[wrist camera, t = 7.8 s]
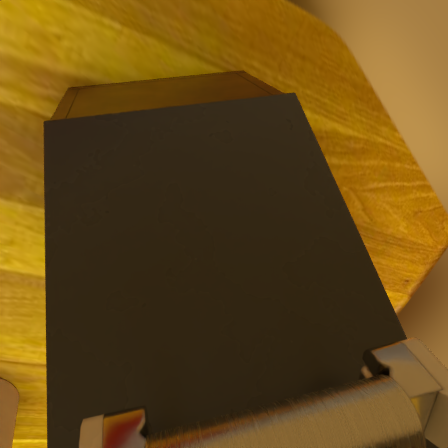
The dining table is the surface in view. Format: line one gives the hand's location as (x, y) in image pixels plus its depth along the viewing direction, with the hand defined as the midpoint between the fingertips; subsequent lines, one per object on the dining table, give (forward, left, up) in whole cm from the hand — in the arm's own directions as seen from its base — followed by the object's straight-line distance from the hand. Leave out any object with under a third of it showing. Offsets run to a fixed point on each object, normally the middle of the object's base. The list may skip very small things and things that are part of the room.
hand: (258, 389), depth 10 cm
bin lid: (0, +1, -6) cm, 6 cm away
